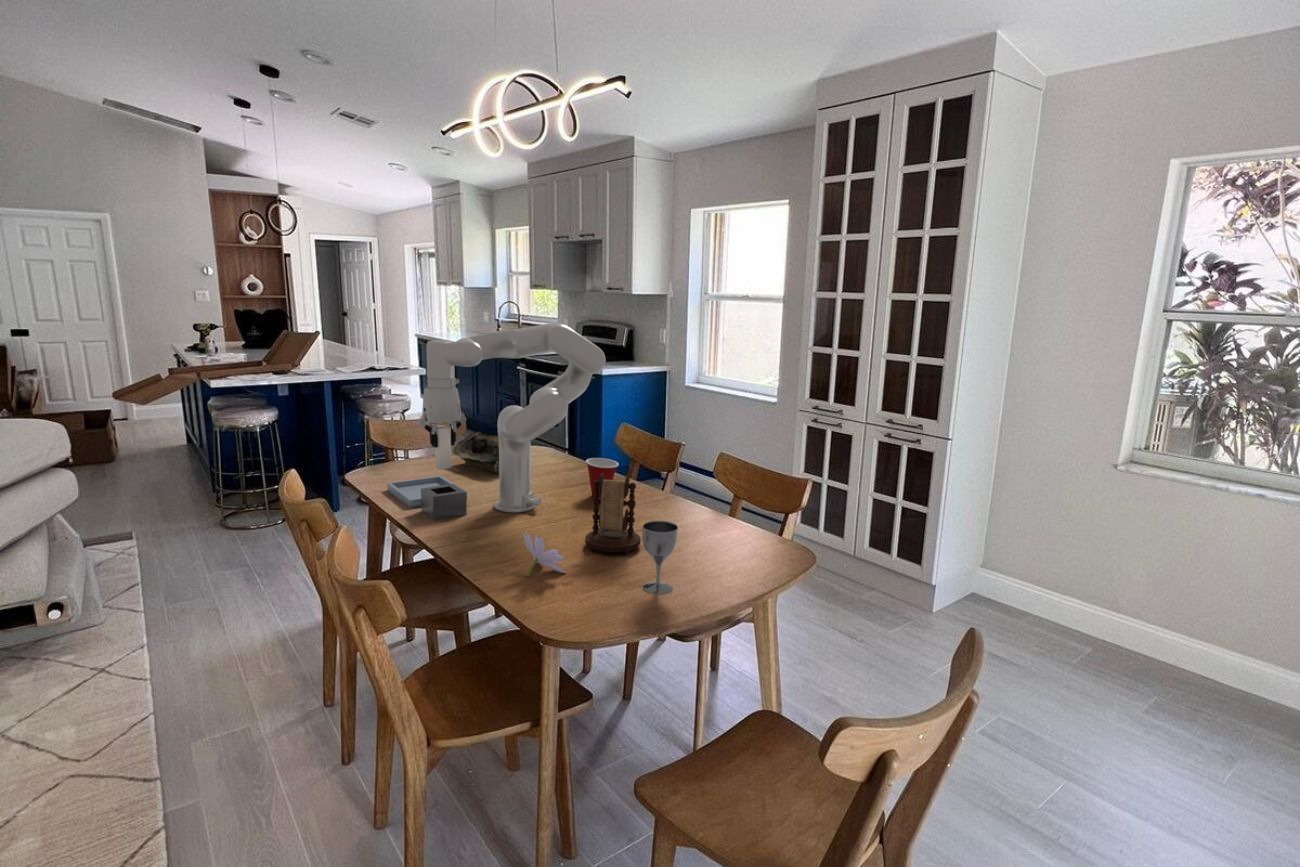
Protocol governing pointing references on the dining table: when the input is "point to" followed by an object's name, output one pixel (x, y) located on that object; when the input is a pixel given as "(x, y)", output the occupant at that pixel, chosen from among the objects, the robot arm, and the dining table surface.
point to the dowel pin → (443, 447)
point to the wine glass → (659, 550)
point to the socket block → (443, 501)
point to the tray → (415, 489)
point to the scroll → (613, 517)
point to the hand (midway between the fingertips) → (443, 445)
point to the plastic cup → (600, 470)
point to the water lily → (542, 554)
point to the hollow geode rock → (479, 451)
